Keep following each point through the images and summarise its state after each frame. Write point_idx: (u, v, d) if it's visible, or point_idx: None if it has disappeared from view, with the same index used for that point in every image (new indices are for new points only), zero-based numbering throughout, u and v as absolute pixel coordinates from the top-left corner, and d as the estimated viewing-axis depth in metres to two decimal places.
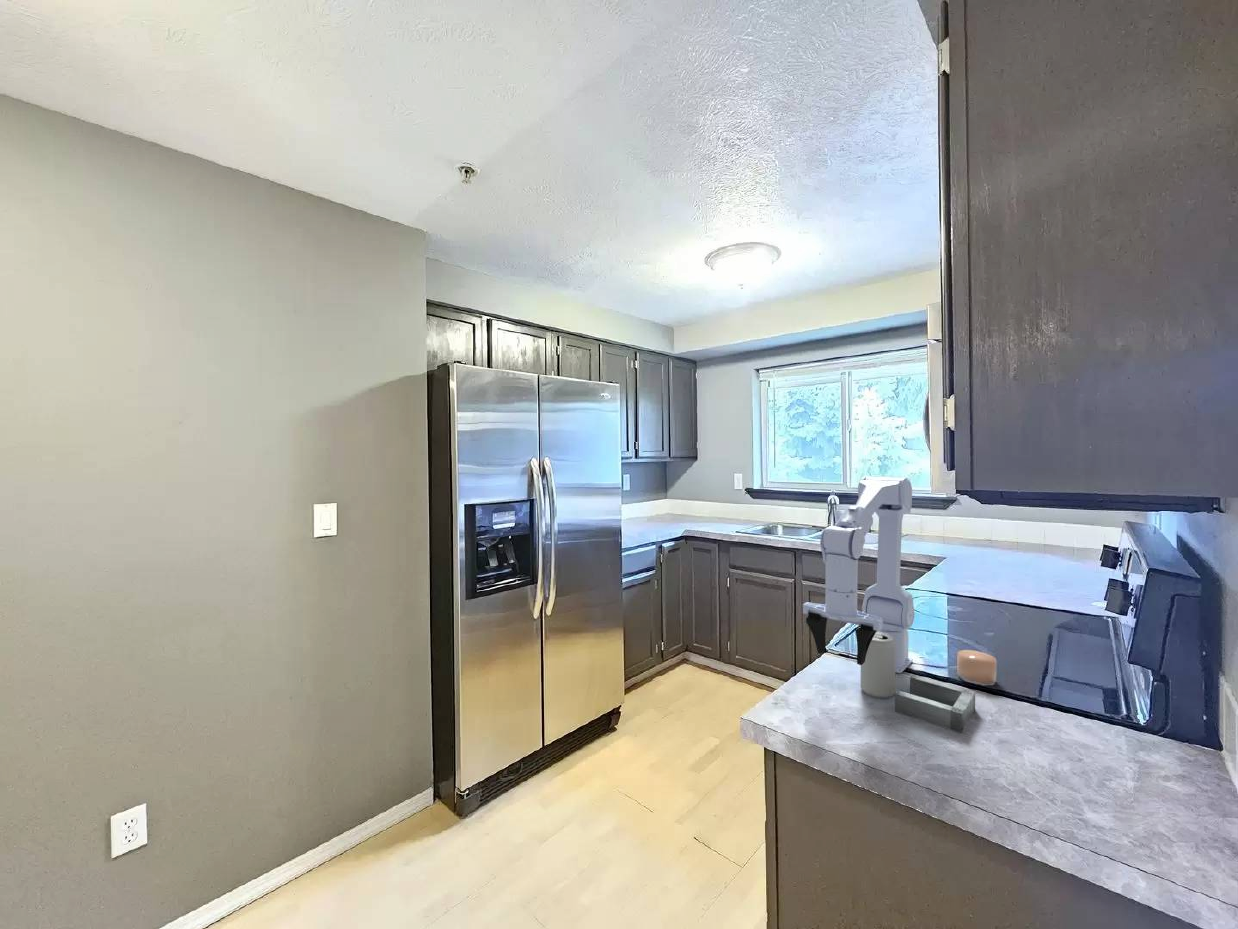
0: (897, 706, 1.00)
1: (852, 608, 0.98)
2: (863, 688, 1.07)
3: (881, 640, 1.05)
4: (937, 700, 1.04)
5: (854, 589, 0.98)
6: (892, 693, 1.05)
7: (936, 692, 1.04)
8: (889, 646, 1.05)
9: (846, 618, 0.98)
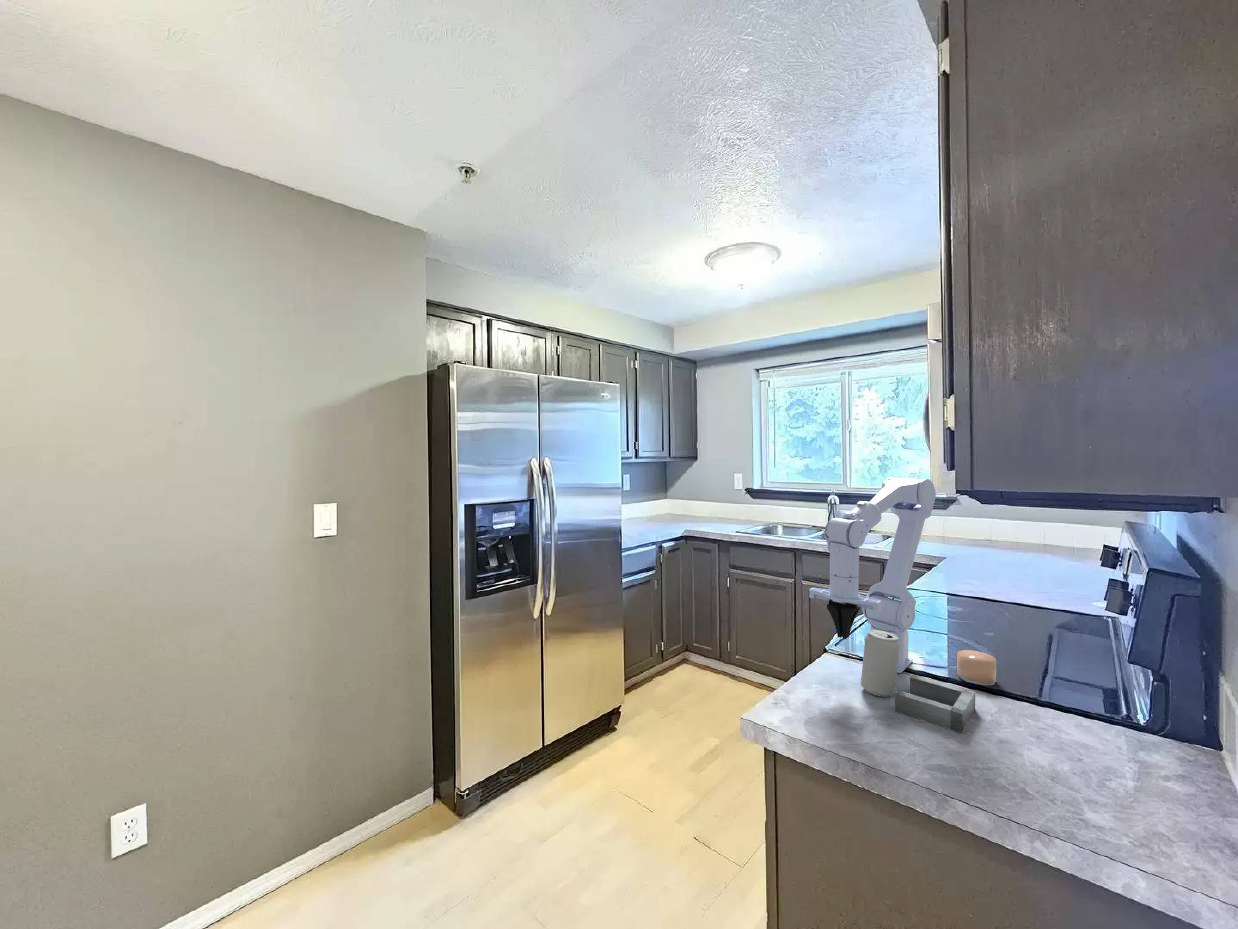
0: (897, 706, 1.00)
1: (854, 592, 1.09)
2: (863, 685, 1.07)
3: (886, 638, 1.05)
4: (937, 700, 1.04)
5: (853, 575, 1.09)
6: (892, 692, 1.05)
7: (936, 692, 1.04)
8: (894, 645, 1.05)
9: (848, 600, 1.09)
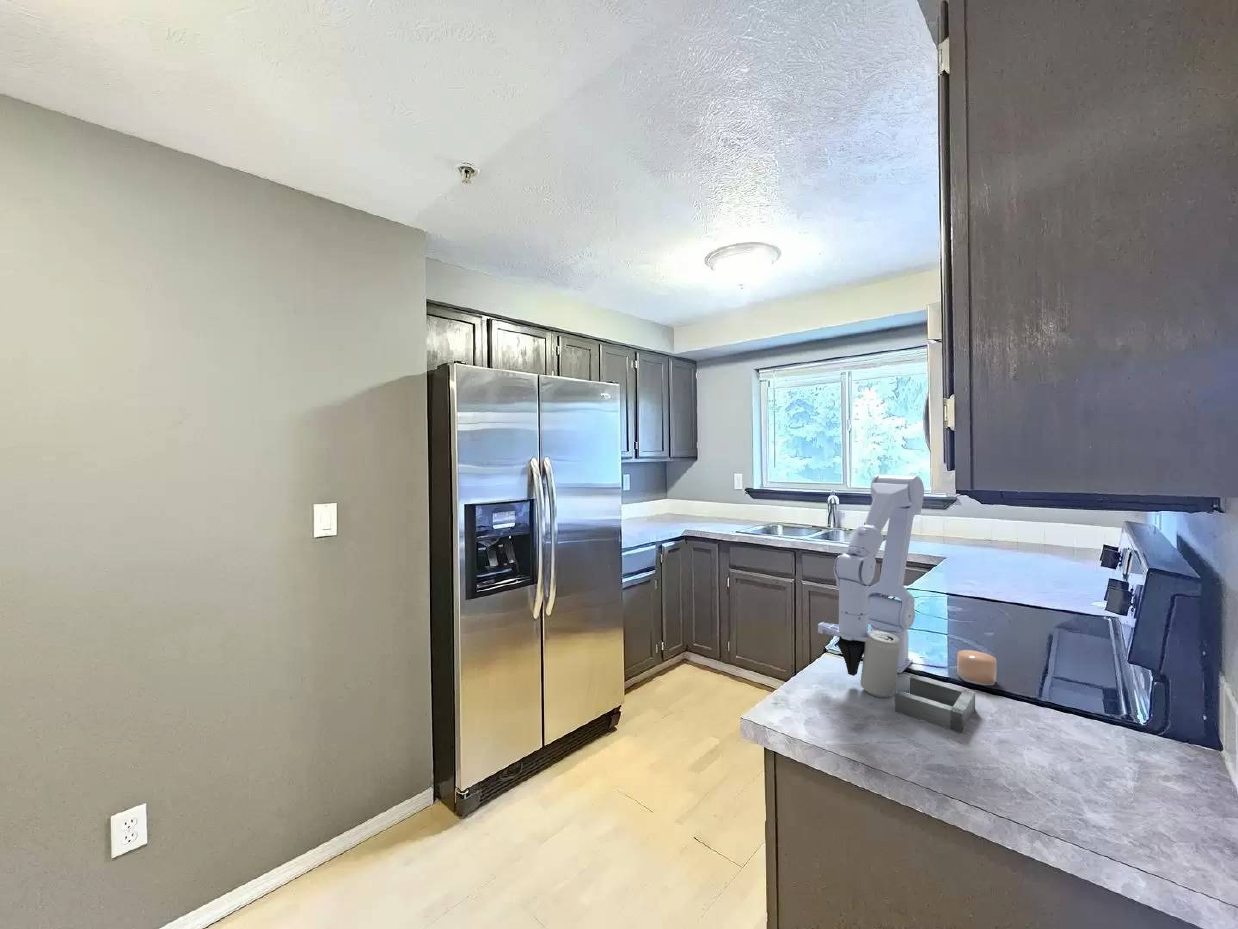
0: (897, 706, 1.00)
1: (863, 629, 1.08)
2: (863, 686, 1.07)
3: (887, 641, 1.04)
4: (937, 700, 1.04)
5: (864, 612, 1.08)
6: (892, 693, 1.05)
7: (936, 692, 1.04)
8: (894, 648, 1.04)
9: (858, 638, 1.08)
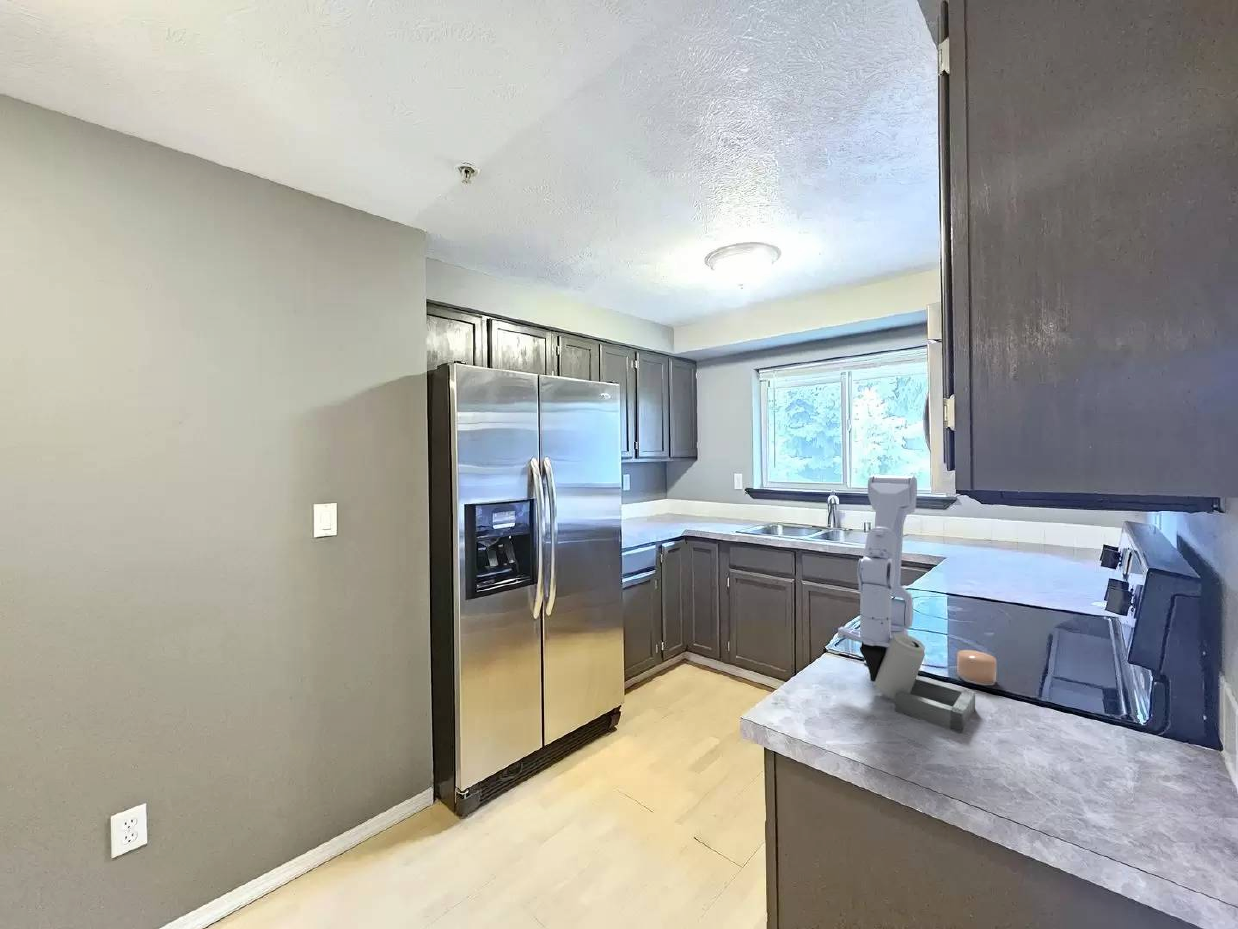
0: (897, 706, 1.00)
1: (886, 634, 1.05)
2: (878, 686, 1.05)
3: (913, 648, 1.01)
4: (937, 700, 1.04)
5: (889, 616, 1.05)
6: None
7: (936, 692, 1.04)
8: (920, 656, 1.01)
9: (881, 644, 1.05)
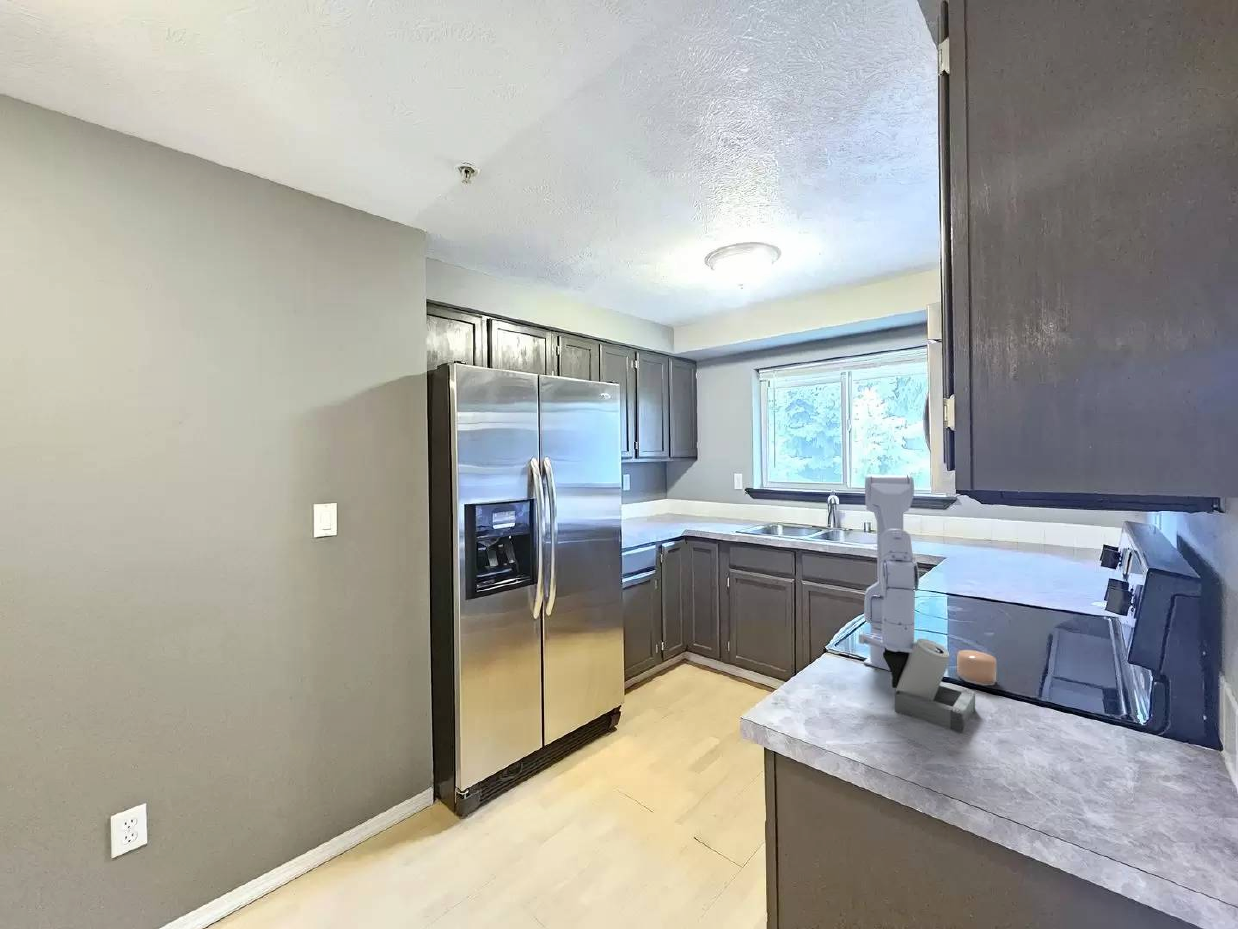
0: (897, 706, 1.00)
1: (910, 640, 1.02)
2: None
3: (937, 654, 0.98)
4: (937, 700, 1.04)
5: None
6: None
7: (936, 692, 1.04)
8: (944, 662, 0.98)
9: (904, 649, 1.02)
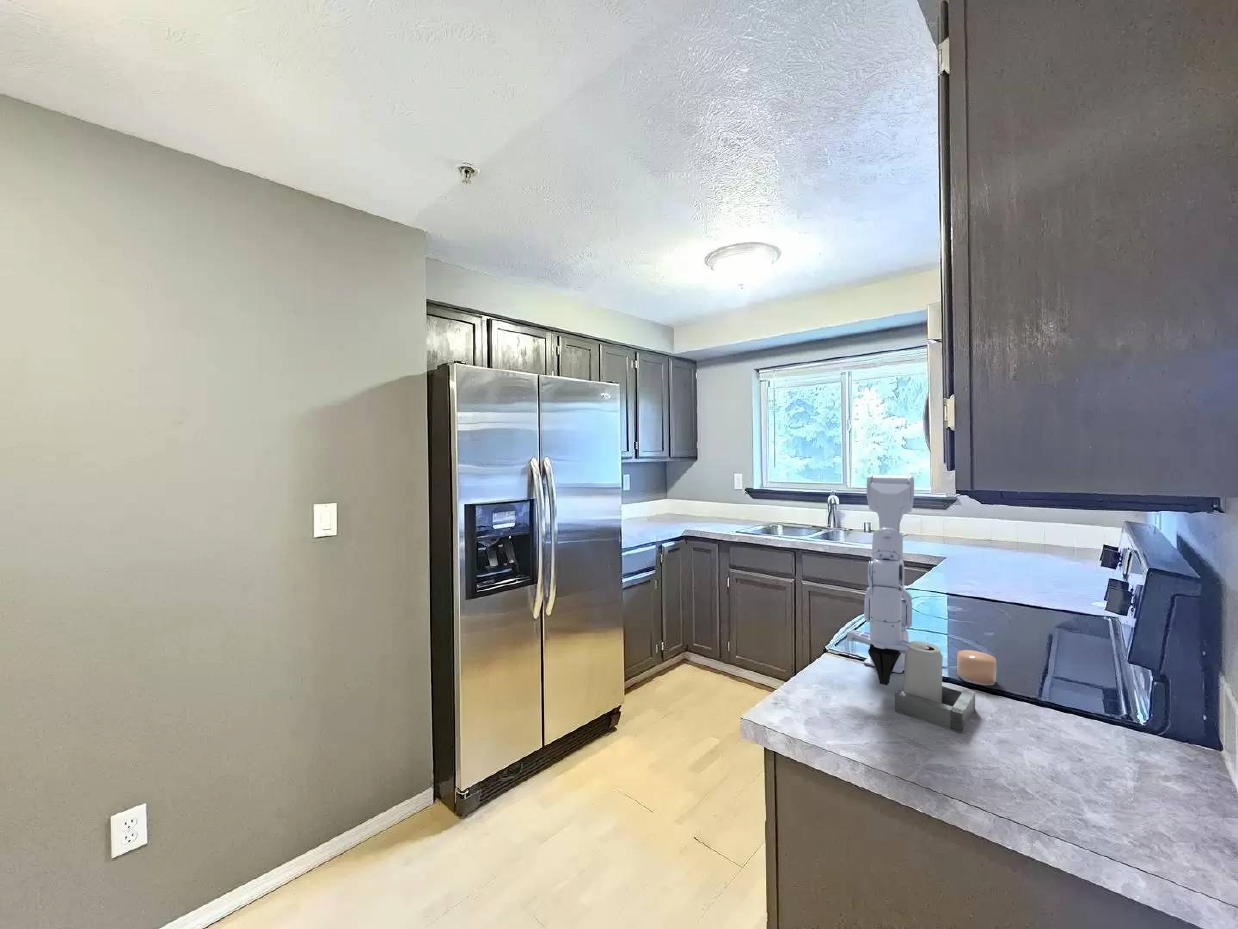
0: (897, 706, 1.00)
1: (897, 637, 1.04)
2: None
3: (928, 651, 0.99)
4: None
5: (900, 618, 1.04)
6: None
7: None
8: (937, 658, 0.99)
9: (891, 647, 1.03)
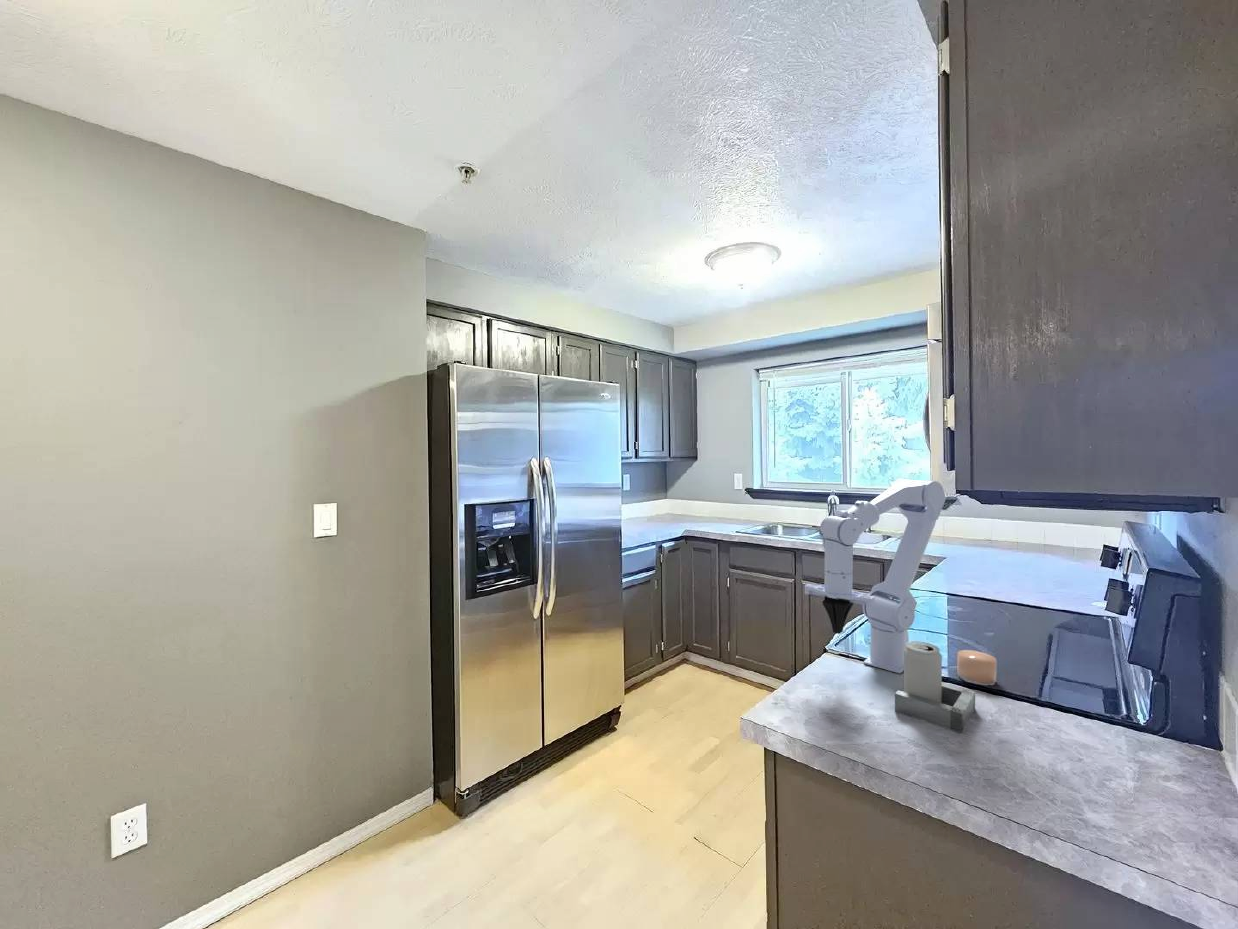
0: (897, 706, 1.00)
1: (848, 588, 1.12)
2: None
3: (927, 651, 0.99)
4: None
5: (845, 572, 1.12)
6: None
7: None
8: (936, 658, 0.99)
9: (842, 596, 1.12)
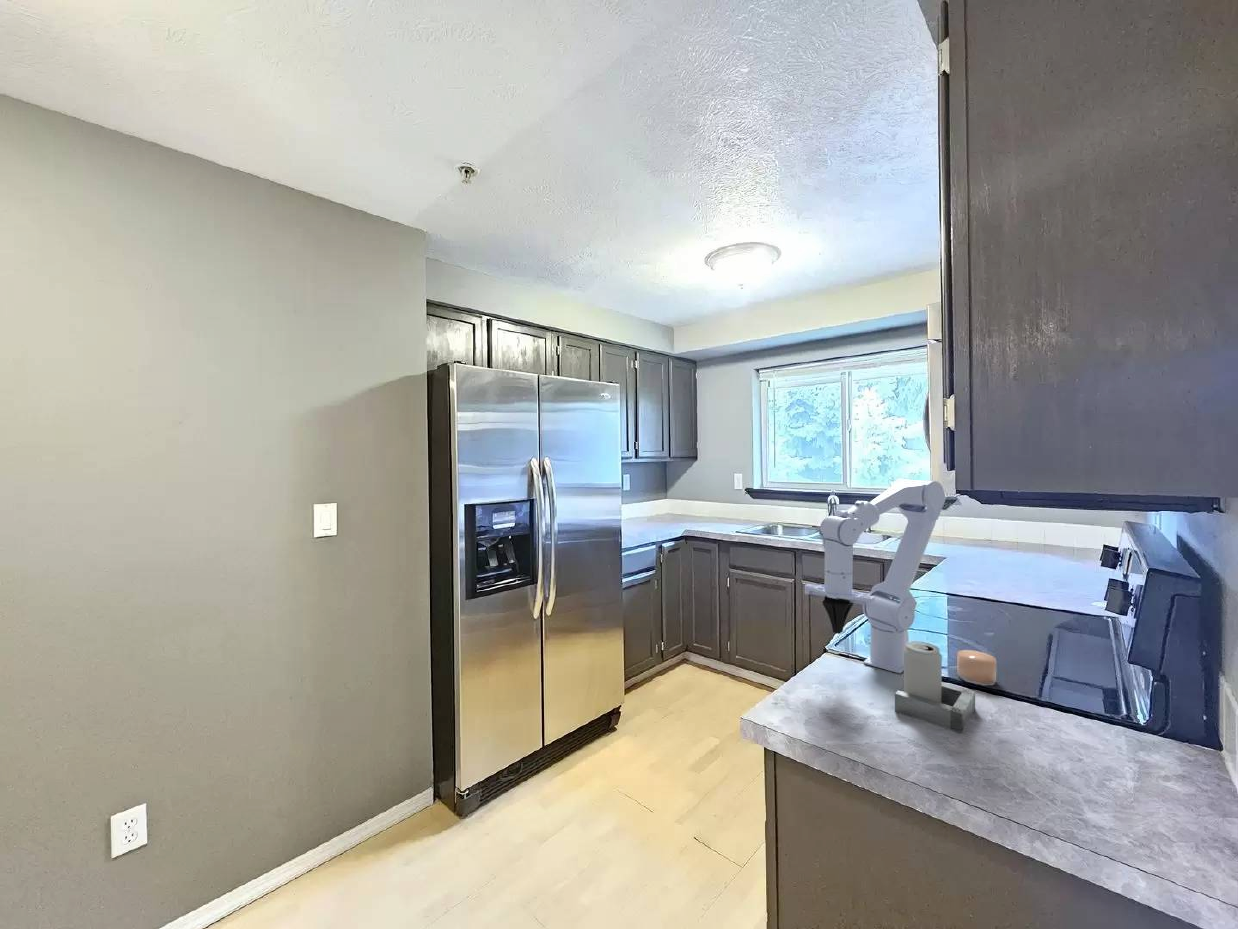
0: (897, 706, 1.00)
1: (848, 588, 1.12)
2: None
3: (927, 651, 0.99)
4: None
5: (845, 572, 1.12)
6: None
7: None
8: (936, 658, 0.99)
9: (842, 596, 1.12)
